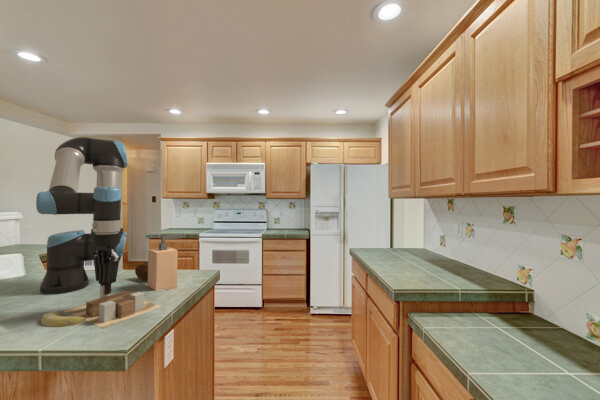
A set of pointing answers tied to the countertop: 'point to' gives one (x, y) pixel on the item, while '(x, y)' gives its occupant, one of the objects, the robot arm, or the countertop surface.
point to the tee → (122, 305)
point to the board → (81, 312)
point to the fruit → (60, 320)
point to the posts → (109, 307)
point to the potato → (142, 271)
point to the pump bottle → (163, 265)
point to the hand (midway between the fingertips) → (105, 303)
